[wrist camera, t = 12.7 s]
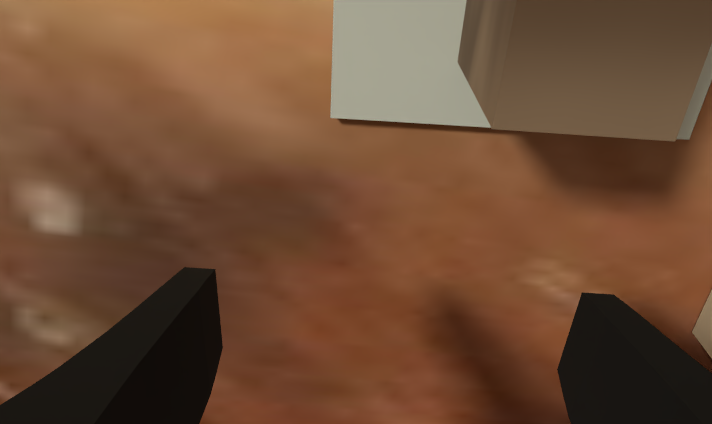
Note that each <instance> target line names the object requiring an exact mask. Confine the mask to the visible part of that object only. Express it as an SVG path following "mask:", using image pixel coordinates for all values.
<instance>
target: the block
mask: <svg viewBox="0 0 712 424" xmlns="http://www.w3.org/2000/svg"><path fill="white" fill-rule="evenodd" d="M711 44H712V0H467V1H466V8H465V14H464V21H463V28H462V35H461V41H460V48H459V55H458V64H459V66H460V68H461V70H462V72H463V74H464V76H465V78H466V80H467V82H468V83H469V85H470V87H471V89H472V91H473V93H474V95H475V97H476V99H477V101H478V103H479V105H480V107H481V109H482V111H483V112H484V114H485V116H486V118H487V120H488V122H489V124H490V126H491V128H492V129H497V130H512V131H527V132H542V133H557V134H572V135H586V136H601V137H616V138H631V139H646V140H661V141H676V138H677V136H678V133H679V130H680V128H681V125H682V122H683V119H684V117H685V114H686V111H687V109H688V106H689V103H690V101H691V98H692V95H693V93H694V90H695V87H696V85H697V82H698V79H699V76H700V74H701V71H702V68H703V66H704V63H705V60H706V58H707V55H708V52H709V50H710V47H711Z"/></svg>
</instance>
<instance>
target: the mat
mask: <svg viewBox="0 0 712 424" xmlns="http://www.w3.org/2000/svg"><path fill="white" fill-rule="evenodd" d="M466 1H467V0H334V13H333V48H332V84H331V118H341V119H357V120H374V121H390V122H406V123H423V124H439V125H456V126H472V127H488V128H491V126H490V124H489V122H488V120H487V118H486V116H485V114H484V112H483V111H482V109H481V107H480V105H479V103H478V101H477V99H476V97H475V95H474V93H473V91H472V89H471V87H470V85H469V83H468V82H467V80H466V78H465V76H464V74H463V72H462V70H461V68H460V66H459V64H458V55H459V48H460V41H461V35H462V28H463V21H464V14H465V8H466ZM711 80H712V44H711V47H710V50H709V52H708V55H707V58H706V60H705V63H704V66H703V68H702V71H701V74H700V76H699V79H698V82H697V85H696V87H695V90H694V93H693V95H692V98H691V101H690V103H689V106H688V109H687V111H686V114H685V117H684V119H683V122H682V125H681V128H680V130H679V133H678V136H677V138H676V139H685V140H689V139H690V136H691V133H692V131H693V128H694V125H695V123H696V120H697V118H698V115H699V112H700V110H701V107H702V104H703V102H704V99H705V96H706V94H707V91H708V88H709V86H710V83H711Z"/></svg>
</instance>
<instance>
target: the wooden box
mask: <svg viewBox="0 0 712 424" xmlns="http://www.w3.org/2000/svg"><path fill="white" fill-rule="evenodd" d="M692 333H693V334H694V336H695V337H696V338H697V340H698V341H699V342H700V344H701V345H702V346H703V348H704V349H705V350H706V352H707V353H708V354H709V356H710V357H711V358H712V290H711V292H710V295H709V297H708V299H707V301H706V303H705V305H704V307H703V310H702V312H701V314H700V316H699V318H698V320H697V322H696V325H695V327H694V329H693V331H692Z"/></svg>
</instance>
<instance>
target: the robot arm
mask: <svg viewBox="0 0 712 424" xmlns="http://www.w3.org/2000/svg"><path fill="white" fill-rule="evenodd" d="M222 348H223V346H222V335H221V325H220V314H219V304H218V293H217V283H216V273H215V269H202V268H187V267H184V268H183V269H182V270H181V271H179V272H178V273H177V274H176V275H175V276H173V277H172V278H171V279H170V280H169V281H167V282H166V283H165V284H164V285H163V286H161V287H160V288H159V289H158V290H157V291H155V292H154V293H153V294H152V295H151V296H150V297H148V298H147V299H146V300H145V301H144V302H142V303H141V304H140V305H139V306H138V307H136V308H135V309H134V310H133V311H132V312H130V313H129V314H128V315H127V316H125V317H124V318H123V319H122V320H120V321H119V322H118V323H117V324H116V325H114V326H113V327H112V328H111V329H109V330H108V331H107V332H106V333H104V334H103V335H102V336H100V337H99V338H98V339H96V340H95V341H94V342H92V343H91V344H90V345H88V346H87V347H85V348H84V349H83V350H81V351H80V352H79V353H77V354H76V355H75V356H73V357H72V358H71V359H69V360H68V361H67V362H65V363H64V364H63V365H61V366H60V367H58V368H57V369H55V370H54V371H52V372H51V373H50V374H48V375H47V376H45V377H44V378H42V379H41V380H39V381H38V382H36V383H35V384H33V385H32V386H30V387H28V388H27V389H25V390H24V391H22V392H20V393H19V394H17V395H16V396H14V397H12V398H11V399H9V400H8V401H6V402H4V403H3V404H1V405H0V424H199V423H200V420H201V418H202V415H203V413H204V410H205V407H206V405H207V402H208V400H209V397H210V394H211V391H212V387H213V383H214V380H215V376H216V372H217V368H218V364H219V360H220V356H221V352H222ZM557 370H558V374H559V379H560V383H561V387H562V392H563V396H564V400H565V404H566V408H567V412H568V416H569V419H570V422H571V424H712V373H711V372H709V371H708V370H707V369H706V368H704V367H703V366H702V365H701V364H699V363H698V362H697V361H696V360H694V359H693V358H692V357H691V356H689V355H688V354H687V353H686V352H684V351H683V350H682V349H681V348H679V347H678V346H677V345H676V344H675V343H673V342H672V341H671V340H670V339H669V338H667V337H666V336H665V335H664V334H662V333H661V332H660V331H659V330H658V329H656V328H655V327H654V326H653V325H652V324H650V323H649V322H648V321H647V320H645V319H644V318H643V317H642V316H641V315H639V314H638V313H637V312H636V311H634V310H633V309H632V308H631V307H629V306H628V305H627V304H625V303H624V302H623V301H621V300H620V299H619V298H617V297H616V296H615V295H611V294H595V293H582V294H581V297H580V300H579V304H578V307H577V310H576V313H575V316H574V319H573V322H572V325H571V328H570V332H569V335H568V338H567V341H566V344H565V347H564V350H563V353H562V356H561V360H560V363H559V366H558V369H557Z"/></svg>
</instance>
